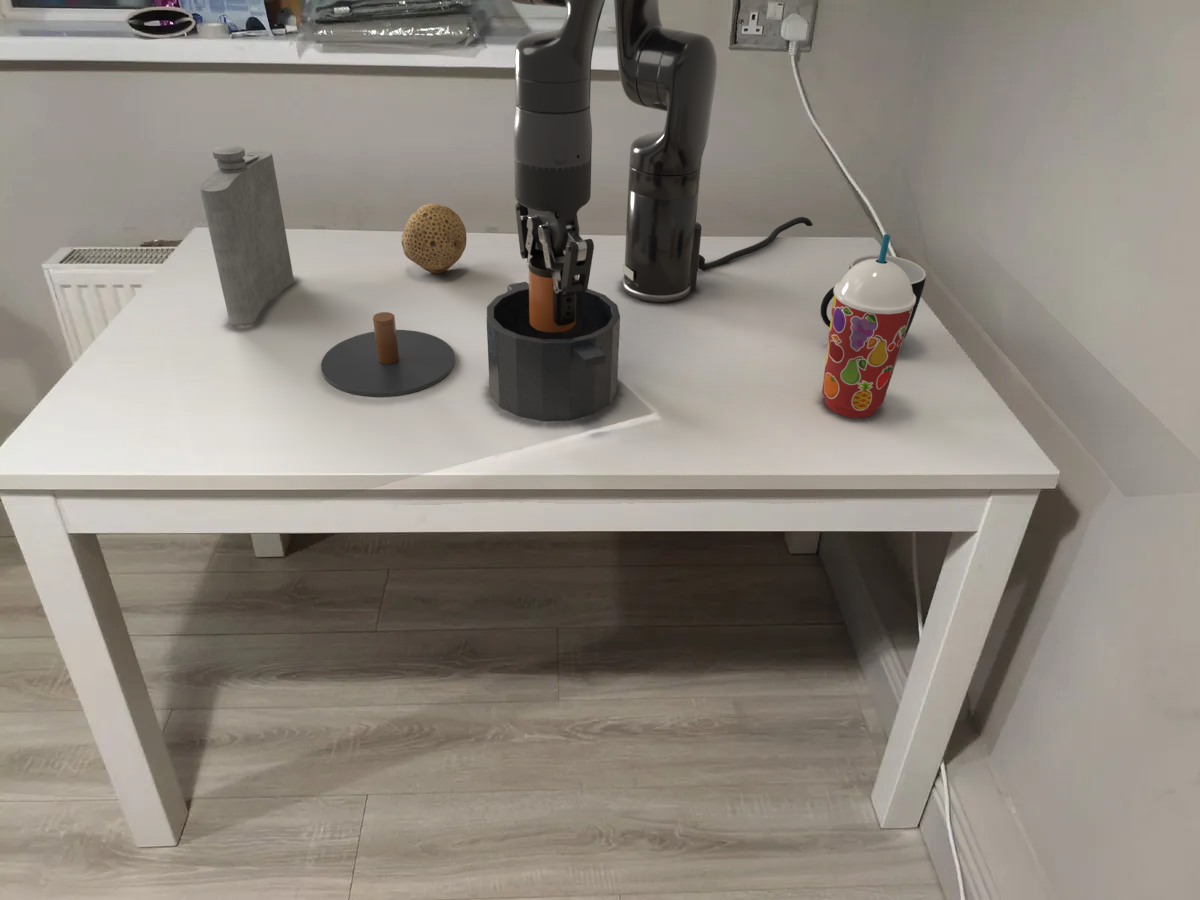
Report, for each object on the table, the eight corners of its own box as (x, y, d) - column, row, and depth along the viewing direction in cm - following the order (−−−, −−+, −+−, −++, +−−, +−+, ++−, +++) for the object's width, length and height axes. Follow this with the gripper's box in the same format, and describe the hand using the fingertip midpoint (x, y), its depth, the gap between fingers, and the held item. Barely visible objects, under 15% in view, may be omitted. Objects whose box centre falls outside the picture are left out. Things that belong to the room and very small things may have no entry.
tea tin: (563, 308, 102) (563, 248, 98) (583, 327, 98) (585, 266, 94) (522, 316, 100) (520, 256, 96) (541, 336, 96) (540, 274, 92)
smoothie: (891, 394, 105) (931, 227, 94) (885, 431, 99) (928, 256, 87) (818, 381, 107) (849, 216, 96) (808, 416, 101) (840, 243, 90)
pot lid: (430, 328, 116) (425, 279, 112) (474, 383, 105) (471, 331, 101) (308, 352, 109) (299, 302, 106) (342, 413, 98) (333, 359, 95)
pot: (570, 342, 114) (571, 267, 108) (650, 419, 99) (656, 337, 94) (463, 365, 108) (458, 287, 102) (531, 450, 94) (530, 365, 88)
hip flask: (250, 330, 114) (217, 170, 102) (219, 328, 114) (182, 167, 103) (297, 278, 127) (272, 131, 115) (269, 276, 127) (241, 129, 116)
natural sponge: (472, 285, 127) (468, 215, 121) (407, 290, 125) (400, 219, 119) (465, 260, 134) (461, 193, 128) (403, 264, 132) (396, 196, 126)
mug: (891, 326, 120) (908, 253, 114) (919, 359, 112) (939, 283, 107) (803, 329, 118) (815, 256, 113) (826, 363, 111) (841, 286, 105)
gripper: (622, 169, 85) (615, 334, 94) (555, 129, 95) (555, 281, 105) (549, 179, 82) (549, 348, 91) (488, 137, 92) (494, 292, 102)
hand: (552, 311), depth 98 cm, fingers closed on tea tin, 5 cm apart
